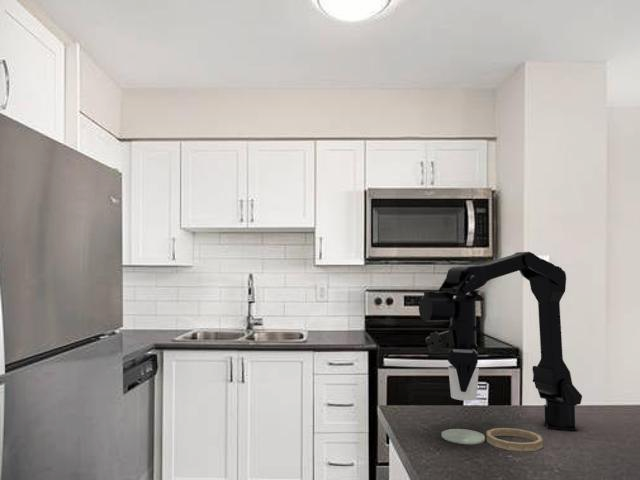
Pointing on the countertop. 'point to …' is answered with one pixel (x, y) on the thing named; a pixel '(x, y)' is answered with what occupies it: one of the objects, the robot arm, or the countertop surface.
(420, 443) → the countertop surface
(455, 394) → the shot glass
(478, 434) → the pale green round disc
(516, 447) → the collar
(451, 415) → the countertop surface
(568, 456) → the countertop surface
